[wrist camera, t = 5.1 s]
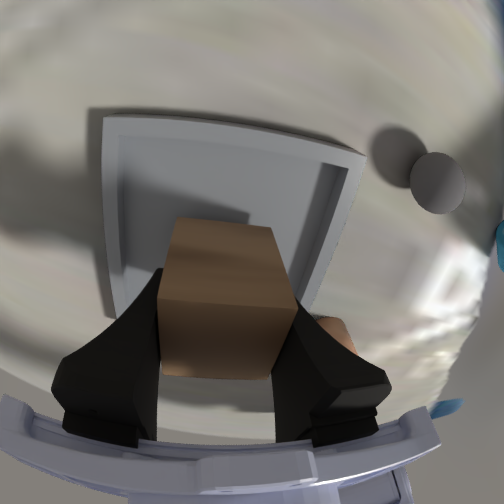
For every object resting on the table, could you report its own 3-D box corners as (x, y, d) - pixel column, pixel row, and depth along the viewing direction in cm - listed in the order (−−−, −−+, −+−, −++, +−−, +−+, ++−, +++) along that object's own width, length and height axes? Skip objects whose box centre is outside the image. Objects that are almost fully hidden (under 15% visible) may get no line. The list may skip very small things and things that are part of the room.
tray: (286, 334, 20) (290, 350, 19) (125, 322, 18) (121, 338, 17) (354, 149, 13) (367, 157, 12) (115, 113, 11) (103, 117, 9)
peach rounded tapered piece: (333, 348, 23) (347, 386, 19) (291, 349, 22) (301, 390, 18) (352, 316, 20) (371, 356, 17) (306, 316, 20) (321, 360, 16)
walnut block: (253, 296, 16) (266, 379, 11) (173, 289, 15) (162, 374, 10) (271, 227, 13) (298, 308, 9) (177, 216, 13) (156, 297, 8)
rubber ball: (428, 203, 15) (461, 230, 12) (390, 191, 15) (424, 219, 12) (446, 155, 13) (483, 175, 11) (409, 137, 13) (449, 155, 10)
